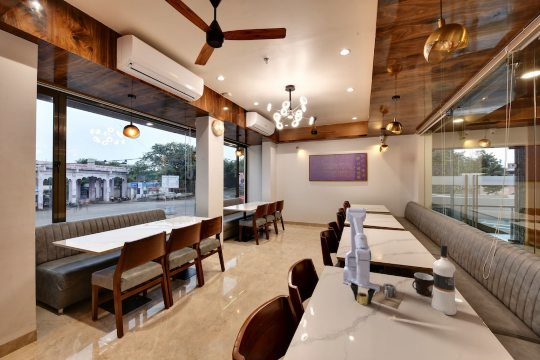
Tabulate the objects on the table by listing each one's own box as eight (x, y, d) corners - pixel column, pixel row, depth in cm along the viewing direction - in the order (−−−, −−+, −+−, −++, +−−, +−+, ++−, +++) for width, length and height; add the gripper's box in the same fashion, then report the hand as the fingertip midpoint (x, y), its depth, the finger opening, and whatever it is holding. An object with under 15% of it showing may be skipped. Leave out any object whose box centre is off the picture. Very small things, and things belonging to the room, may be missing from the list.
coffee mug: (427, 291, 123) (427, 273, 123) (437, 300, 114) (438, 280, 114) (404, 290, 124) (405, 272, 124) (413, 299, 116) (413, 279, 115)
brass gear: (354, 304, 110) (355, 295, 110) (359, 299, 115) (359, 290, 115) (367, 309, 107) (367, 299, 107) (370, 303, 111) (370, 294, 111)
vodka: (436, 302, 112) (437, 241, 112) (459, 311, 105) (460, 246, 104) (427, 308, 107) (428, 244, 107) (451, 318, 99) (452, 249, 99)
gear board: (369, 302, 113) (369, 291, 112) (380, 288, 126) (380, 278, 126) (397, 311, 105) (397, 299, 105) (405, 296, 119) (405, 285, 118)
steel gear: (384, 296, 116) (384, 287, 116) (382, 291, 121) (382, 282, 121) (396, 298, 114) (396, 289, 114) (394, 292, 119) (394, 284, 119)
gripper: (345, 271, 112) (344, 299, 112) (376, 280, 103) (376, 310, 103) (350, 267, 118) (350, 293, 118) (381, 275, 108) (380, 304, 108)
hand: (362, 301), depth 111 cm, fingers closed on brass gear, 6 cm apart
